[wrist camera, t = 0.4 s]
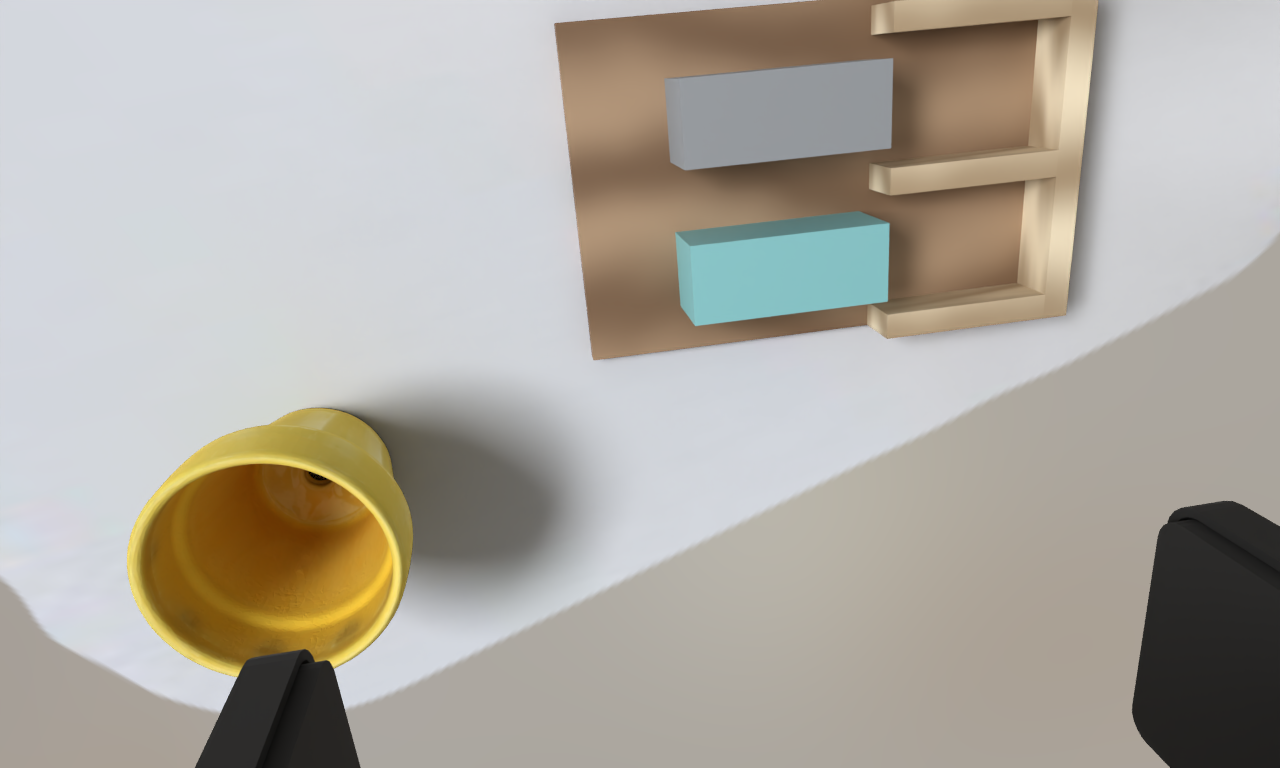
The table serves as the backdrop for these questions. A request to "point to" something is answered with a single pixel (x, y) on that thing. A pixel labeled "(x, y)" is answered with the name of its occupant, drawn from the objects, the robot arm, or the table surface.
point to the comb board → (838, 160)
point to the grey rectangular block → (779, 113)
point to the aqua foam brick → (782, 267)
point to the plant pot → (275, 544)
